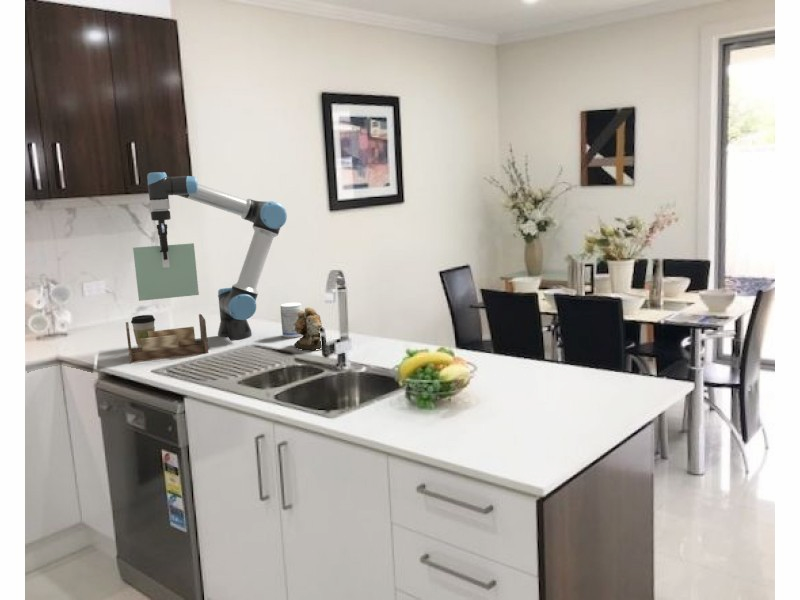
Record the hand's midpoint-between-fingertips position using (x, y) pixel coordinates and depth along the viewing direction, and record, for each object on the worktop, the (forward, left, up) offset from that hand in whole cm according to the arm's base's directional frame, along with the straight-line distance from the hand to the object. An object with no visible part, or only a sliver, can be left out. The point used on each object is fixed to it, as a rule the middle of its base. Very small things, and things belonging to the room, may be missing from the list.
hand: (166, 267), depth 287 cm
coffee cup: (+11, -9, -37) cm, 39 cm away
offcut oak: (+1, +9, -35) cm, 36 cm away
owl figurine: (-53, +23, -37) cm, 68 cm away
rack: (+3, +10, -36) cm, 38 cm away
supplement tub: (-52, -2, -37) cm, 64 cm away
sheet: (0, 0, -13) cm, 13 cm away
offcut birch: (+6, +12, -35) cm, 37 cm away
